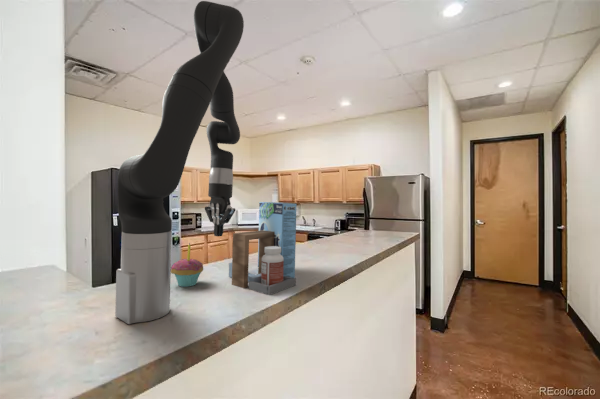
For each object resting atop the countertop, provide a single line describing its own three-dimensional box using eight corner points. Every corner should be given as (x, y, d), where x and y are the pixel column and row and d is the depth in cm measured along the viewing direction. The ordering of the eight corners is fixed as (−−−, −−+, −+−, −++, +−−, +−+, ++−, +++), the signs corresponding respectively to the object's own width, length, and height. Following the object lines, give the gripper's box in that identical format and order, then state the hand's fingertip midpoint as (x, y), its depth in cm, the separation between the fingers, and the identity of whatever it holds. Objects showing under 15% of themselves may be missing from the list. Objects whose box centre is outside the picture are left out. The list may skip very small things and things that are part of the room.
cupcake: (206, 286, 80) (207, 242, 80) (173, 290, 75) (174, 244, 75) (198, 278, 87) (199, 238, 87) (167, 282, 82) (168, 240, 82)
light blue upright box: (295, 280, 86) (297, 203, 86) (279, 281, 84) (282, 203, 84) (269, 265, 103) (272, 202, 103) (256, 267, 101) (258, 201, 101)
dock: (269, 295, 74) (269, 287, 74) (248, 288, 78) (249, 281, 78) (295, 285, 83) (295, 278, 83) (275, 280, 87) (276, 273, 87)
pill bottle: (285, 284, 83) (286, 246, 83) (279, 291, 77) (280, 249, 77) (265, 282, 85) (266, 244, 84) (257, 289, 79) (258, 248, 79)
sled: (273, 280, 86) (273, 266, 86) (253, 287, 79) (254, 271, 79) (242, 273, 94) (243, 260, 94) (222, 278, 87) (223, 264, 87)
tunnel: (273, 278, 89) (274, 231, 88) (243, 288, 79) (245, 235, 79) (261, 275, 92) (262, 230, 91) (231, 284, 82) (232, 233, 82)
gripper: (198, 182, 95) (195, 234, 95) (225, 181, 87) (222, 239, 87) (216, 184, 101) (214, 233, 101) (243, 183, 94) (241, 237, 93)
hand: (218, 236), depth 94 cm, fingers closed
